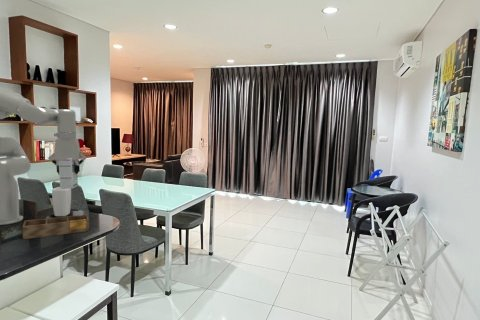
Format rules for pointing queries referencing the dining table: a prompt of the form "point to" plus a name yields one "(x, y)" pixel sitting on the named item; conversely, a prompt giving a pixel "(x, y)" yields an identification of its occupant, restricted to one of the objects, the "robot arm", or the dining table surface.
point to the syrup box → (67, 174)
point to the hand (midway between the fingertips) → (68, 173)
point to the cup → (61, 201)
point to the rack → (55, 226)
